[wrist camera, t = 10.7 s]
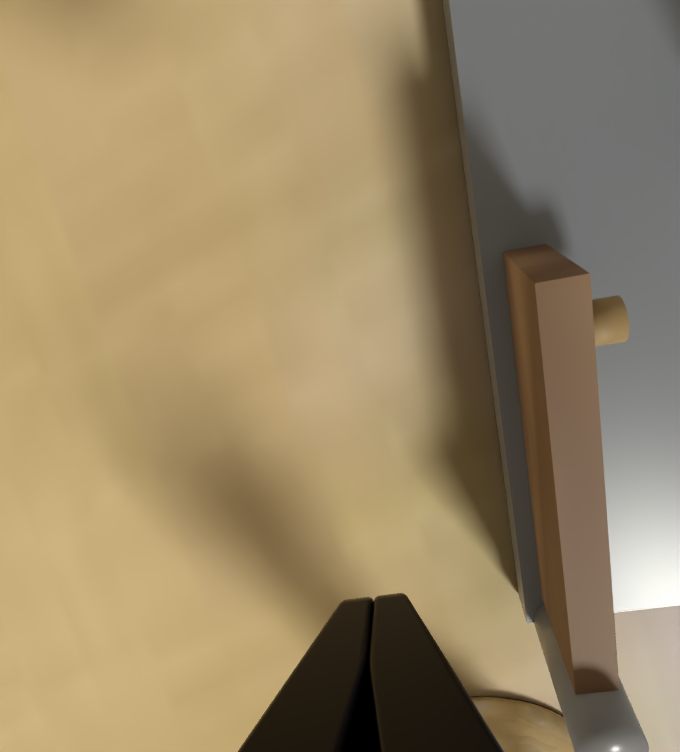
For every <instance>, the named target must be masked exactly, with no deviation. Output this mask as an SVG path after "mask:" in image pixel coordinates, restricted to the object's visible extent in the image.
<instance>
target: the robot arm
mask: <svg viewBox="0 0 680 752" xmlns="http://www.w3.org/2000/svg"><path fill="white" fill-rule="evenodd" d="M238 752H504V750H503V749H502V747H501V746H500V744H499V742H498V741H497V739H496V738H495V736H494V734H493V733H492V731H491V730H490V728H489V726H488V725H487V723H486V722H485V720H484V718H483V717H482V715H481V714H480V712H479V710H478V709H477V707H476V706H475V704H474V702H473V701H472V699H471V698H470V696H469V694H468V693H467V691H466V690H465V688H464V686H463V685H462V683H461V682H460V680H459V679H458V677H457V675H456V674H455V672H454V671H453V669H452V667H451V666H450V664H449V663H448V661H447V659H446V658H445V656H444V655H443V653H442V651H441V650H440V648H439V647H438V645H437V643H436V642H435V640H434V639H433V637H432V635H431V634H430V632H429V631H428V629H427V627H426V626H425V624H424V623H423V621H422V619H421V618H420V616H419V615H418V613H417V611H416V610H415V608H414V607H413V605H412V603H411V602H410V600H409V599H408V597H407V596H406V595H405V594H403V593H397V594H389V595H381V596H377V597H376V598H375V600H374V601H373V599H372V598H370V597H365V598H357V599H348V600H344V601H342V602H341V603H340V604H339V606H338V607H337V609H336V610H335V611H334V613H333V614H332V616H331V617H330V619H329V620H328V622H327V623H326V625H325V626H324V627H323V629H322V630H321V632H320V633H319V635H318V636H317V638H316V639H315V640H314V642H313V643H312V645H311V646H310V648H309V649H308V651H307V652H306V653H305V655H304V656H303V658H302V659H301V661H300V662H299V664H298V665H297V667H296V668H295V669H294V671H293V672H292V674H291V675H290V677H289V678H288V680H287V681H286V682H285V684H284V685H283V687H282V688H281V690H280V691H279V693H278V694H277V695H276V697H275V698H274V700H273V701H272V703H271V704H270V706H269V707H268V709H267V710H266V711H265V713H264V714H263V716H262V717H261V719H260V720H259V722H258V723H257V724H256V726H255V727H254V729H253V730H252V732H251V733H250V735H249V736H248V737H247V739H246V740H245V742H244V743H243V745H242V746H241V748H240V749H239V751H238Z"/></svg>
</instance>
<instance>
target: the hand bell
mask: <svg viewBox="0 0 680 752" xmlns="http://www.w3.org/2000/svg"><path fill="white" fill-rule="evenodd" d="M471 699H472V701H473V702H474V704H475V706H476V707H477V709H478V710H479V712H480V714H481V715H482V717H483V718H484V720H485V722H486V723H487V725H488V726H489V728H490V730H491V731H492V733H493V734H494V736H495V738H496V739H497V741H498V742H499V744H500V746H501V747H502V749H503V750H504V752H574V748H573V745H572V742H571V739H570V736H569V733H568V729H567V726H566V723H565V720H564V717H562V716H561V715H559V714H556V713H554V712H553V711H551V710H549V709H546V708H543V707H540V706H538V705H535V704H531V703H528V702H524V701H518V700H511V699H505V698H493V697H471Z"/></svg>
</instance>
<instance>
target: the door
mask: <svg viewBox="0 0 680 752" xmlns="http://www.w3.org/2000/svg"><path fill="white" fill-rule="evenodd" d="M503 261H504V269H505V278H506V287H507V296H508V304H509V313H510V322H511V331H512V339H513V348H514V357H515V366H516V374H517V383H518V392H519V401H520V409H521V418H522V427H523V436H524V444H525V453H526V462H527V471H528V479H529V488H530V497H531V506H532V514H533V523H534V532H535V541H536V549H537V558H538V567H539V576H540V584H541V593H542V600H543V602H544V605H545V608H546V611H547V614H548V617H549V620H550V623H551V625H552V628H553V631H554V634H555V637H556V640H557V643H558V646H559V648H560V651H561V654H562V657H563V660H564V663H565V666H566V669H567V671H568V674H569V677H570V680H571V683H572V686H573V689H574V692H575V694H576V695H577V694H587V693H597V692H607V691H616V690H619V679H618V664H617V650H616V636H615V621H614V607H613V593H612V578H611V564H610V550H609V535H608V521H607V507H606V492H605V478H604V464H603V449H602V435H601V421H600V406H599V392H598V378H597V363H596V349H595V347H597V346H603V345H609V344H615V343H621V342H626V341H627V339H628V336H629V319H628V313H627V309H626V306H625V303H624V301H623V299H622V298H621V297H620V296H619V295H616V296H610V297H604V298H599V299H593V300H592V292H591V277H590V273H589V272H587V271H586V270H584V269H583V268H581V267H580V266H578V265H577V264H575V263H574V262H572V261H571V260H569V259H568V258H566V257H565V256H563V255H562V254H560V253H559V252H557V251H556V250H554V249H553V248H551V247H550V246H548V245H547V244H543V245H537V246H532V247H526V248H521V249H516V250H510V251H505V252H503Z"/></svg>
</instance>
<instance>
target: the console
mask: <svg viewBox="0 0 680 752" xmlns="http://www.w3.org/2000/svg"><path fill="white" fill-rule="evenodd" d="M442 2H443V10H444V17H445V25H446V33H447V41H448V48H449V56H450V64H451V72H452V80H453V87H454V95H455V103H456V111H457V118H458V126H459V134H460V142H461V149H462V157H463V165H464V173H465V181H466V188H467V196H468V204H469V212H470V219H471V227H472V235H473V243H474V251H475V258H476V266H477V274H478V282H479V289H480V297H481V305H482V313H483V321H484V328H485V336H486V344H487V352H488V359H489V367H490V375H491V383H492V390H493V398H494V406H495V414H496V422H497V429H498V437H499V445H500V453H501V460H502V468H503V476H504V484H505V492H506V499H507V507H508V515H509V523H510V530H511V538H512V546H513V554H514V562H515V569H516V577H517V585H518V593H519V598H520V601H521V604H522V608H523V611H524V614H525V618H526V621H527V623H530V622H534V624H535V627H536V631H537V634H538V637H539V640H540V643H541V647H542V650H543V653H544V656H545V659H546V662H547V666H548V669H549V672H550V675H551V678H552V682H553V685H554V688H555V691H556V694H557V698H558V701H559V704H560V707H561V710H562V713H563V717H564V720H565V723H566V726H567V729H568V733H569V736H570V739H571V742H572V745H573V748H574V752H649V746H648V742H647V740H646V738H645V735H644V733H643V731H642V729H641V726H640V724H639V722H638V719H637V717H636V715H635V713H634V710H633V708H632V706H631V703H630V701H629V699H628V697H627V694H626V692H625V690H624V688H623V685H622V683H621V681H620V678H619V676H618V679H619V690H616V691H607V692H597V693H587V694H577V695H576V694H575V692H574V689H573V686H572V683H571V680H570V677H569V674H568V671H567V669H566V666H565V663H564V660H563V657H562V654H561V651H560V648H559V646H558V643H557V640H556V637H555V634H554V631H553V628H552V625H551V623H550V620H549V617H548V614H547V611H546V608H545V605H544V602H543V600H542V593H541V584H540V576H539V567H538V558H537V549H536V541H535V532H534V523H533V514H532V506H531V497H530V488H529V479H528V471H527V462H526V453H525V444H524V436H523V427H522V418H521V409H520V401H519V392H518V383H517V374H516V366H515V357H514V348H513V339H512V331H511V322H510V313H509V304H508V296H507V287H506V278H505V269H504V261H503V252H505V251H510V250H516V249H521V248H526V247H532V246H537V245H543V244H547V245H548V246H550V247H551V248H553V249H554V250H556V251H557V252H559V253H560V254H562V255H563V256H565V257H566V258H568V259H569V260H571V261H572V262H574V263H575V264H577V265H578V266H580V267H581V268H583V269H584V270H586V271H587V272H589V273H590V277H591V292H592V300H593V299H599V298H604V297H610V296H616V295H619V296H620V297H621V298H622V299H623V301H624V303H625V306H626V309H627V313H628V319H629V336H628V339H627V341H626V342H621V343H615V344H609V345H603V346H597V347H595V349H596V363H597V378H598V392H599V406H600V421H601V435H602V449H603V464H604V478H605V492H606V507H607V521H608V535H609V550H610V564H611V578H612V593H613V607H614V613H616V612H625V611H634V610H642V609H651V608H660V607H668V606H677V605H680V0H442Z"/></svg>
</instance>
